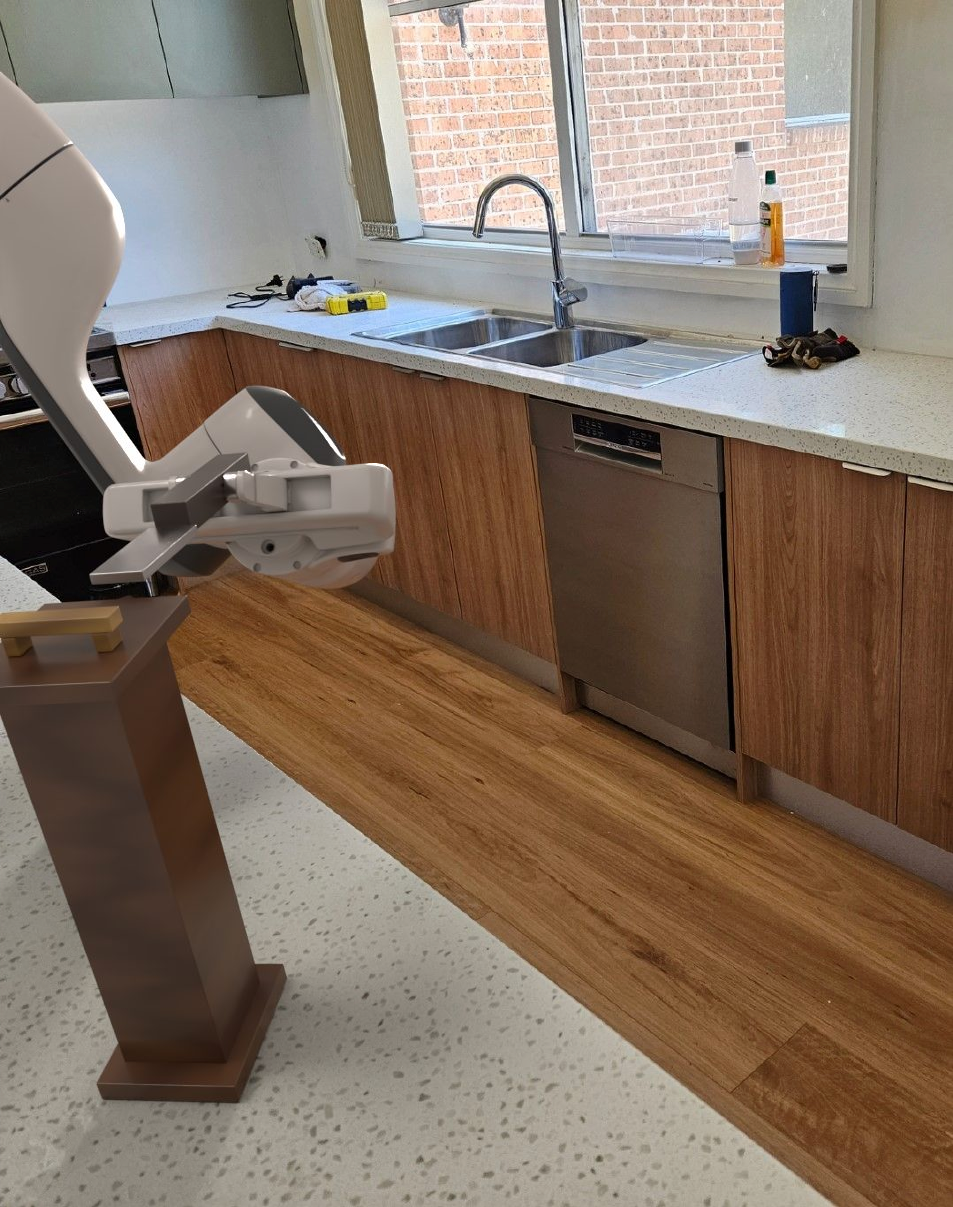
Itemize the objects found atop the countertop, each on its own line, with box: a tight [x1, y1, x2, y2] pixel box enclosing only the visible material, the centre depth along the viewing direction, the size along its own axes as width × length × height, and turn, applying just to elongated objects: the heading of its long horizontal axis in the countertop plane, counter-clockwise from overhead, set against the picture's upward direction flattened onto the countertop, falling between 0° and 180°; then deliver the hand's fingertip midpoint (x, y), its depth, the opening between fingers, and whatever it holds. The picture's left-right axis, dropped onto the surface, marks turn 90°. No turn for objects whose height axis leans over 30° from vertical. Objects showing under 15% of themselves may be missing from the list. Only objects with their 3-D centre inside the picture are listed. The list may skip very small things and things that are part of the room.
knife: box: [89, 452, 252, 585], centre depth 64 cm, size 3×18×2 cm, turn 172°
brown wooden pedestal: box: [0, 594, 288, 1103], centre depth 56 cm, size 8×9×28 cm
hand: (206, 486), depth 67 cm, fingers closed on knife, 2 cm apart
